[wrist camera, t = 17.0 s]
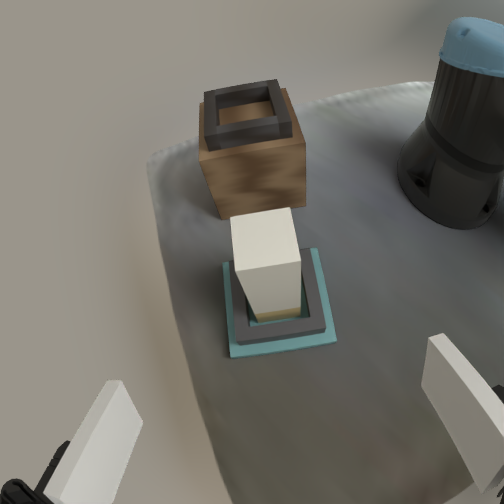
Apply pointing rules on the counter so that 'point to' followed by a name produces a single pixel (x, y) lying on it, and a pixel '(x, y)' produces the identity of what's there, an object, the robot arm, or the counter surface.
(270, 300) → the plug
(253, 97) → the wooden planter box
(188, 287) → the counter surface
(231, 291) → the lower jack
